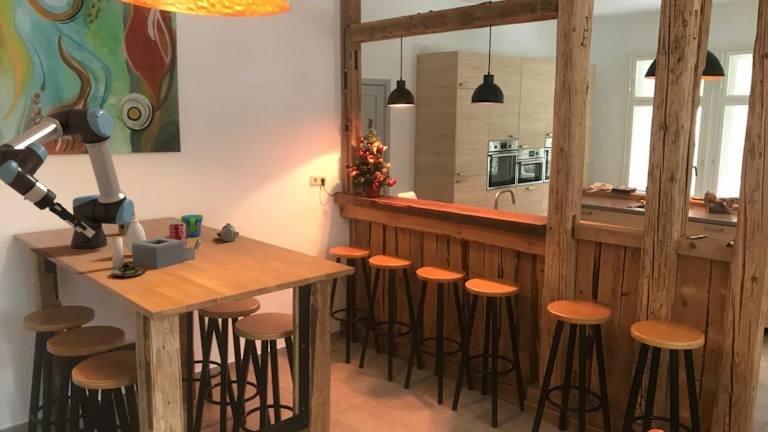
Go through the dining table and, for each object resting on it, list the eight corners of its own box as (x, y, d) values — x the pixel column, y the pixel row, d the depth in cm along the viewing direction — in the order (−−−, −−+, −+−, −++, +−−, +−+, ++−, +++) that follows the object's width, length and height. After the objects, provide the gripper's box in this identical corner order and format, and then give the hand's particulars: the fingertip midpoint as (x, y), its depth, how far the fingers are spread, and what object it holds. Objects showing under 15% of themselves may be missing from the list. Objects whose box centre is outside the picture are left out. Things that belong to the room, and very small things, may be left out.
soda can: (181, 253, 266) (180, 224, 264) (166, 252, 267) (165, 223, 265) (190, 250, 273) (189, 221, 270) (175, 249, 274) (174, 221, 272)
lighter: (185, 260, 253) (184, 241, 252) (184, 259, 255) (183, 241, 254) (202, 258, 258) (201, 239, 257) (200, 257, 259) (199, 239, 258)
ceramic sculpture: (217, 225, 287) (216, 221, 301) (218, 243, 288) (216, 239, 302) (240, 224, 291) (237, 221, 305) (241, 242, 292) (238, 238, 306)
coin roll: (110, 267, 239) (108, 237, 237) (119, 265, 243) (117, 236, 241) (117, 269, 238) (115, 238, 236) (126, 266, 241) (124, 237, 239)
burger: (111, 280, 222) (110, 260, 221) (111, 273, 232) (110, 254, 231) (146, 277, 227) (145, 258, 225) (144, 270, 237) (143, 251, 236)
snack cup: (183, 233, 311) (182, 213, 310) (204, 232, 314) (204, 213, 312) (180, 239, 296) (179, 218, 295) (202, 238, 298) (201, 218, 297)
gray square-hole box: (132, 264, 245) (131, 242, 243) (160, 257, 257) (159, 237, 256) (157, 269, 238) (156, 246, 237) (184, 262, 251) (183, 240, 249)
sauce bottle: (142, 252, 266) (140, 212, 264) (149, 255, 261) (147, 214, 258) (124, 255, 261) (121, 214, 258) (131, 258, 256) (129, 216, 253)
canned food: (130, 231, 312) (128, 209, 311) (138, 233, 308) (137, 210, 306) (115, 234, 306) (114, 210, 304) (124, 236, 302) (123, 212, 300)
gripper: (24, 199, 226) (70, 234, 239) (40, 207, 208) (90, 245, 220) (39, 185, 229) (84, 220, 241) (56, 191, 211) (104, 229, 223)
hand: (87, 232), depth 231 cm, fingers open, 13 cm apart
